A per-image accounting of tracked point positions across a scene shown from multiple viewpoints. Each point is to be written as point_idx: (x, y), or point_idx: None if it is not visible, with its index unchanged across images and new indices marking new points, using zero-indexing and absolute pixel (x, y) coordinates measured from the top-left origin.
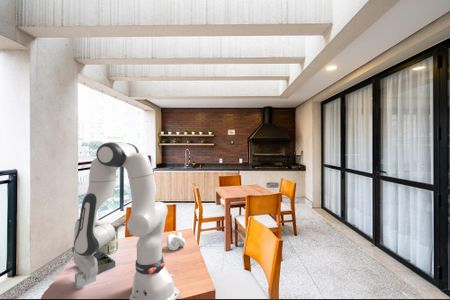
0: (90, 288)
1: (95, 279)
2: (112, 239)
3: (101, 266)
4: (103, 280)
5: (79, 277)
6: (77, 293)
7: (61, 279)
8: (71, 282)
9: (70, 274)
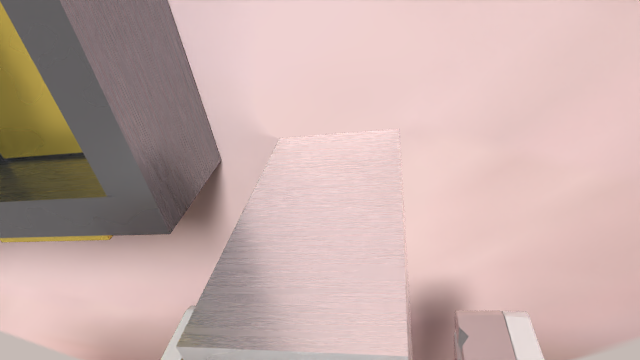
0: (567, 246)
1: (398, 149)
2: None
3: None
4: (535, 5)
5: None
6: None
7: (86, 356)
8: None
9: (9, 294)
